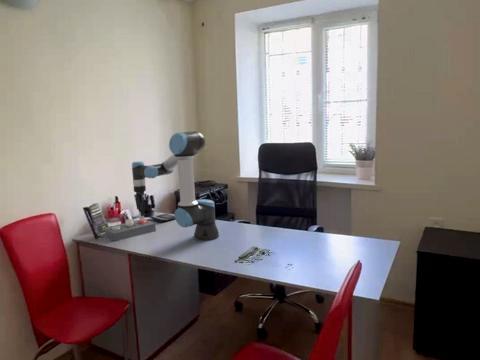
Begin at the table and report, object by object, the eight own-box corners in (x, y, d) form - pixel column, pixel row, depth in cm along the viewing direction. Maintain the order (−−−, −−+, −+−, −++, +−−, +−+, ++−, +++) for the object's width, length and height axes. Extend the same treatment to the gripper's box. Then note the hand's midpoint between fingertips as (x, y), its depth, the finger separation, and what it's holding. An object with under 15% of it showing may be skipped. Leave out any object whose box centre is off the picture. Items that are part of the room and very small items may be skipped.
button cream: (135, 227, 242) (134, 220, 241) (127, 228, 239) (127, 222, 238) (131, 225, 246) (131, 219, 245) (124, 227, 242) (123, 220, 242)
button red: (148, 227, 248) (147, 220, 247) (141, 229, 245) (140, 222, 244) (144, 225, 252) (143, 219, 251) (137, 227, 249) (137, 220, 248)
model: (290, 272, 177) (290, 269, 177) (234, 262, 191) (234, 259, 190) (304, 257, 196) (304, 254, 195) (252, 249, 209) (252, 246, 209)
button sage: (122, 233, 237) (121, 226, 236) (114, 235, 233) (113, 228, 232) (118, 232, 240) (118, 225, 239) (111, 233, 237) (110, 227, 236)
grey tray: (155, 230, 246) (155, 223, 245) (114, 241, 228) (113, 233, 227) (144, 226, 258) (143, 218, 257) (104, 235, 240) (103, 228, 239)
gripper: (149, 185, 241) (152, 221, 245) (140, 183, 251) (142, 217, 255) (138, 187, 236) (141, 223, 240) (129, 185, 246) (132, 219, 250)
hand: (142, 220), depth 248 cm, fingers closed
